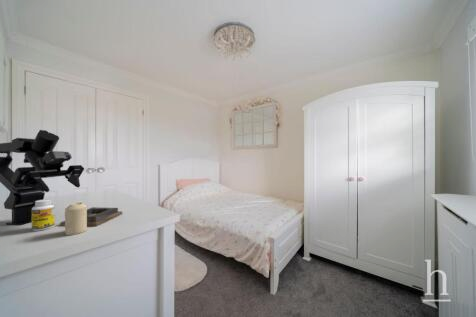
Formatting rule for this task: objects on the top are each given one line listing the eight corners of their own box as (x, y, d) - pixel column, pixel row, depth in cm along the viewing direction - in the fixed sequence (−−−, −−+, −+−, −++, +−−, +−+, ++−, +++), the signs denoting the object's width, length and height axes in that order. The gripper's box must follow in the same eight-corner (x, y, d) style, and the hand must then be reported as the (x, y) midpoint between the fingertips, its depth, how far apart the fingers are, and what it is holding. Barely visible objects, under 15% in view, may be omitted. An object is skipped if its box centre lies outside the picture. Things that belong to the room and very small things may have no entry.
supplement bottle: (27, 232, 60) (27, 203, 60) (37, 226, 65) (37, 199, 65) (49, 230, 62) (49, 201, 62) (57, 224, 67) (57, 198, 67)
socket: (60, 225, 66) (60, 217, 66) (92, 213, 80) (92, 206, 80) (96, 226, 66) (96, 217, 66) (122, 214, 80) (122, 207, 80)
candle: (73, 236, 57) (73, 206, 57) (60, 234, 59) (60, 204, 59) (90, 229, 63) (90, 201, 63) (78, 228, 64) (78, 200, 64)
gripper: (13, 142, 56) (39, 174, 53) (79, 146, 74) (101, 170, 71) (0, 169, 58) (24, 201, 55) (67, 166, 76) (88, 190, 73)
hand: (64, 188), depth 64 cm, fingers open, 9 cm apart
